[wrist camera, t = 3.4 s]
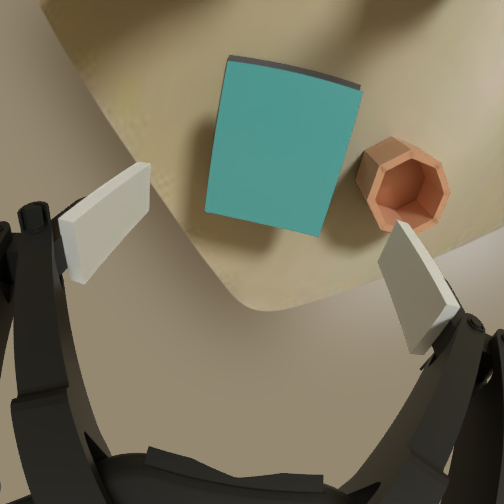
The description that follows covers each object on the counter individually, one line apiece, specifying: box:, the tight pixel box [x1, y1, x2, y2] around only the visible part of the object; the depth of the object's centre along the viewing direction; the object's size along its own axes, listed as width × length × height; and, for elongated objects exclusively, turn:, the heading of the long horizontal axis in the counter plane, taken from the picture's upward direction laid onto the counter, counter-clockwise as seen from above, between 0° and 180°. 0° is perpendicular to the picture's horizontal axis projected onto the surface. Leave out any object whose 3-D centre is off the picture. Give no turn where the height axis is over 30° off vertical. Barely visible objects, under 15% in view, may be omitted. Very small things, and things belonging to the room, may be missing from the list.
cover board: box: [204, 61, 363, 237], centre depth 24 cm, size 11×14×2 cm
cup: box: [355, 137, 451, 234], centre depth 28 cm, size 9×9×6 cm
